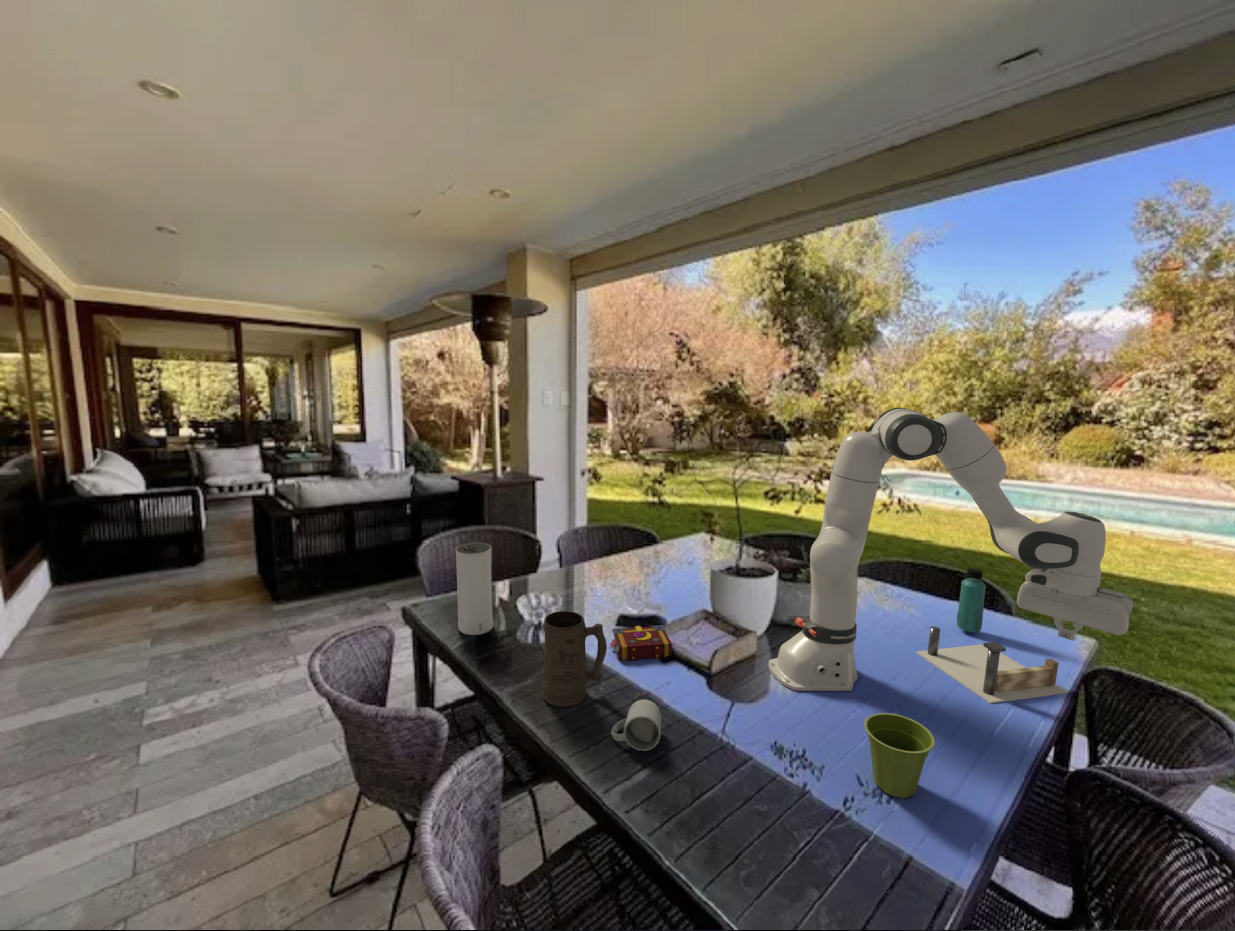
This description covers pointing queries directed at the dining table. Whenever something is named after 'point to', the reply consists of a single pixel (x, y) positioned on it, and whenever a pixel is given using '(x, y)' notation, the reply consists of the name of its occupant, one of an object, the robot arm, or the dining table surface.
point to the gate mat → (983, 672)
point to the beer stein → (569, 658)
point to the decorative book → (641, 643)
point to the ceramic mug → (640, 726)
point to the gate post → (992, 666)
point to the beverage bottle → (971, 601)
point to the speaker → (474, 588)
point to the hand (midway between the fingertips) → (1066, 637)
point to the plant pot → (897, 752)
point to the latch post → (933, 641)
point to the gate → (1027, 677)
